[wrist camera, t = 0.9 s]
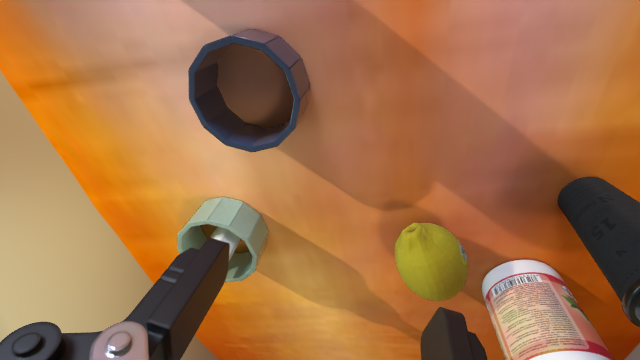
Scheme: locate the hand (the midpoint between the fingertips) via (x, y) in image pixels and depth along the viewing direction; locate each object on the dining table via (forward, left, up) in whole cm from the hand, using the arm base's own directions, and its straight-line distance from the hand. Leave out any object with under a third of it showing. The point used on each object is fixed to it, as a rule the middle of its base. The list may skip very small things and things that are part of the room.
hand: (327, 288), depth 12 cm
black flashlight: (+25, +10, -24) cm, 36 cm away
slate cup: (-8, -6, -24) cm, 26 cm away
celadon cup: (+1, -25, -24) cm, 35 cm away
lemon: (+19, -6, -24) cm, 31 cm away
